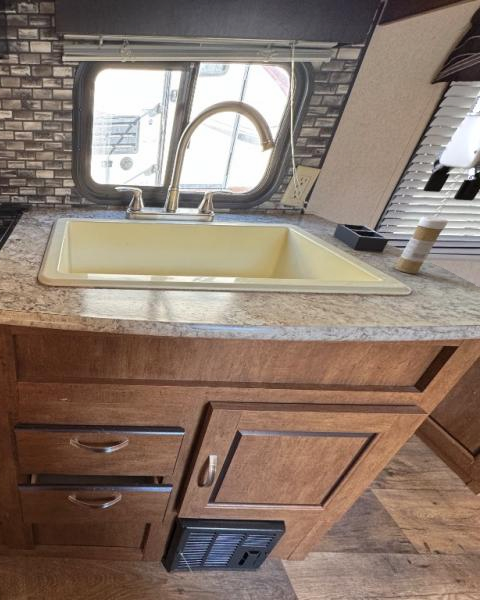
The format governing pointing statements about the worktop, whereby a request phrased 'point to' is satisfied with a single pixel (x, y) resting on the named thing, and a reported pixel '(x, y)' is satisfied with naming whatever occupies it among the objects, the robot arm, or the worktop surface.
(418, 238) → the sprinkles bottle
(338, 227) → the grid
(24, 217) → the worktop surface
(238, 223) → the worktop surface
